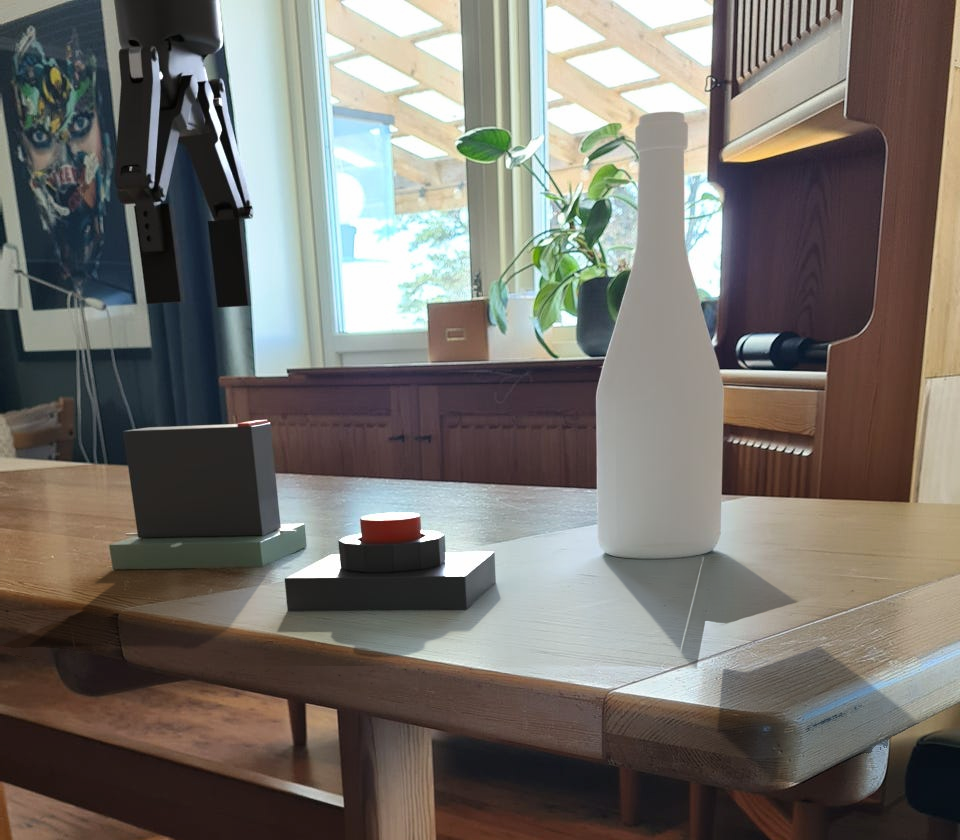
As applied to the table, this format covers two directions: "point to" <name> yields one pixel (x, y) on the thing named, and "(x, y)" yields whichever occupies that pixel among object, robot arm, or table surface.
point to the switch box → (392, 577)
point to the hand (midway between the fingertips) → (202, 305)
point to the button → (390, 527)
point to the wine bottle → (660, 380)
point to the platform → (207, 550)
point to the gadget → (203, 480)
